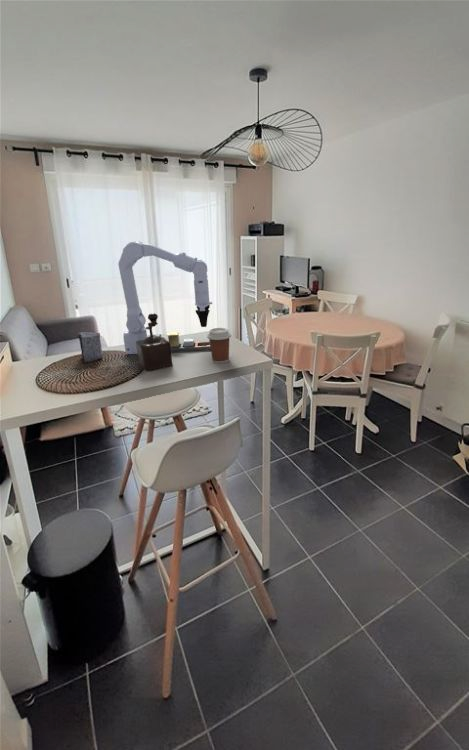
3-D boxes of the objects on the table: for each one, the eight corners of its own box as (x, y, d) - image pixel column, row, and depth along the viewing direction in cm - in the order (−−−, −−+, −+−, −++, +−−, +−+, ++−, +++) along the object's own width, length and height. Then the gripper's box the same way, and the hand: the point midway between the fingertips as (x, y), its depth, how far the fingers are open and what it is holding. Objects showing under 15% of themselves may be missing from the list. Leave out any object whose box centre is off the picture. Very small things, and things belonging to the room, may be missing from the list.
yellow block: (169, 351, 151) (168, 335, 149) (170, 348, 155) (169, 332, 152) (179, 350, 151) (177, 334, 149) (180, 347, 155) (178, 332, 152)
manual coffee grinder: (175, 365, 135) (169, 318, 128) (146, 372, 130) (139, 323, 123) (161, 354, 148) (155, 311, 141) (134, 360, 143) (127, 315, 136)
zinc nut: (184, 350, 152) (183, 341, 150) (185, 347, 155) (184, 338, 154) (194, 350, 152) (193, 341, 150) (194, 347, 155) (193, 338, 154)
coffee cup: (224, 354, 145) (223, 325, 140) (236, 360, 137) (235, 330, 133) (204, 359, 140) (202, 329, 136) (216, 366, 133) (214, 335, 128)
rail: (165, 352, 150) (164, 348, 149) (167, 347, 156) (166, 343, 156) (212, 350, 151) (212, 346, 150) (212, 344, 157) (212, 341, 157)
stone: (78, 367, 142) (77, 353, 149) (104, 367, 147) (102, 353, 154) (78, 342, 136) (77, 328, 143) (106, 343, 140) (103, 329, 147)
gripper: (211, 294, 139) (213, 328, 144) (211, 288, 152) (213, 319, 157) (193, 295, 138) (196, 329, 144) (194, 289, 152) (197, 320, 157)
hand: (204, 324), depth 150 cm, fingers open, 7 cm apart
